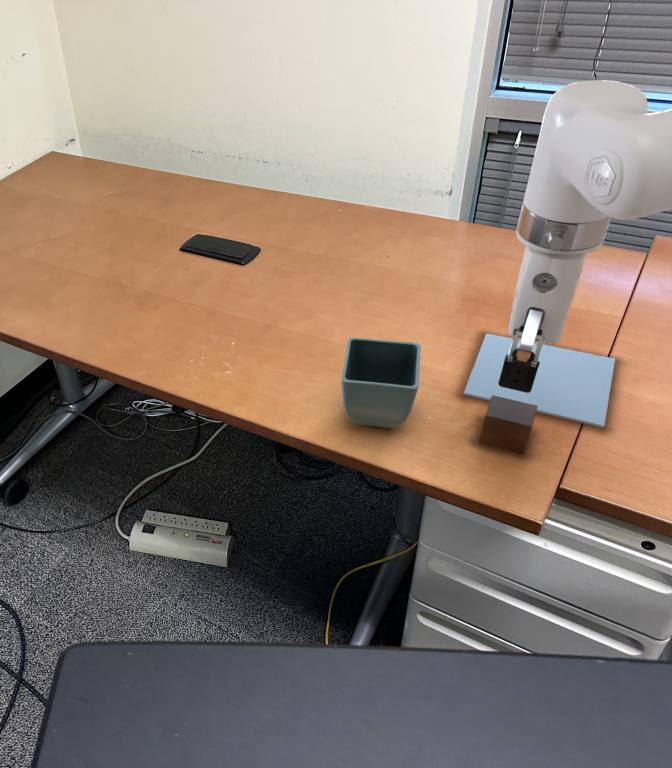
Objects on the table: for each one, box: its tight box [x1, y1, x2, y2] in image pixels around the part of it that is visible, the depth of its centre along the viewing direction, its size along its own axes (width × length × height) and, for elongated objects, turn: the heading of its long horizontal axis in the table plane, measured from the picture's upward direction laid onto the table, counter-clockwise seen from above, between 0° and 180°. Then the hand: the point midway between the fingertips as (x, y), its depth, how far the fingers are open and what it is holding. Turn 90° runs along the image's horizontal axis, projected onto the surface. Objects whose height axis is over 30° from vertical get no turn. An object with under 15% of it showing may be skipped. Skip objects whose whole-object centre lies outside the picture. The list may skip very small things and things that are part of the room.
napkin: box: [463, 333, 616, 429], centre depth 90 cm, size 16×14×1 cm
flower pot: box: [340, 337, 422, 429], centre depth 86 cm, size 9×9×9 cm
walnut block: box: [478, 395, 538, 455], centre depth 82 cm, size 5×4×4 cm
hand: (522, 361), depth 76 cm, fingers open, 9 cm apart
